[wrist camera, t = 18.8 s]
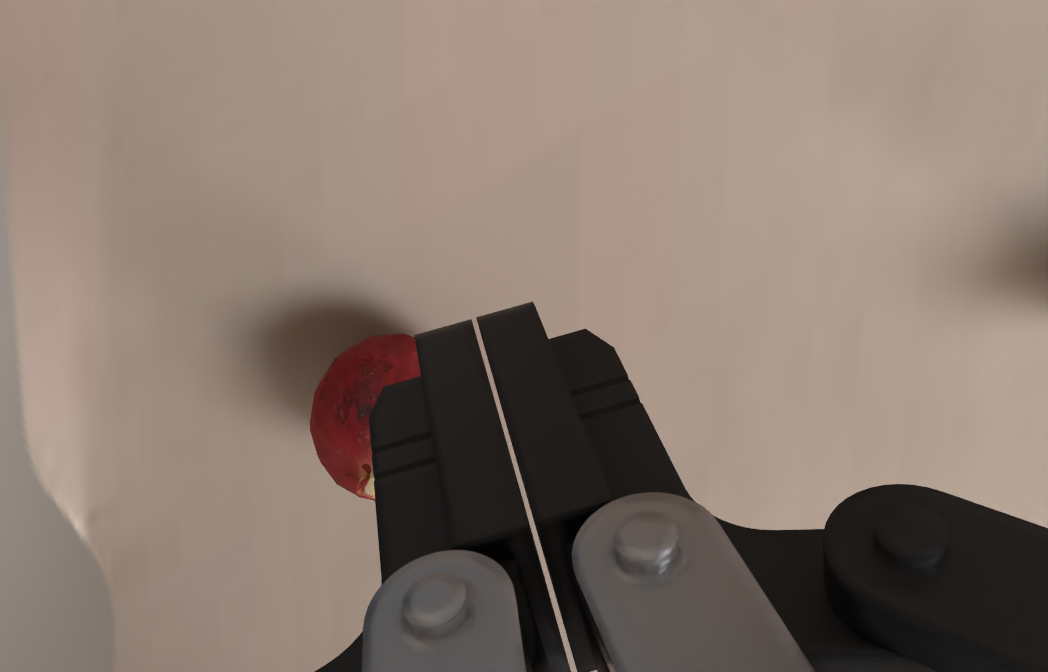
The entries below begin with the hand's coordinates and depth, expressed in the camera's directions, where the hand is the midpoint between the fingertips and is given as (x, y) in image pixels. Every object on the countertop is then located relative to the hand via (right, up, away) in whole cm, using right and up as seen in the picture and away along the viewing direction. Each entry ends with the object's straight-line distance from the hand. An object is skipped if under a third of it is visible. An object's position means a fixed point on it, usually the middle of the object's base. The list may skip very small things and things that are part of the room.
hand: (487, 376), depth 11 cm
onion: (-4, -1, +24) cm, 25 cm away
